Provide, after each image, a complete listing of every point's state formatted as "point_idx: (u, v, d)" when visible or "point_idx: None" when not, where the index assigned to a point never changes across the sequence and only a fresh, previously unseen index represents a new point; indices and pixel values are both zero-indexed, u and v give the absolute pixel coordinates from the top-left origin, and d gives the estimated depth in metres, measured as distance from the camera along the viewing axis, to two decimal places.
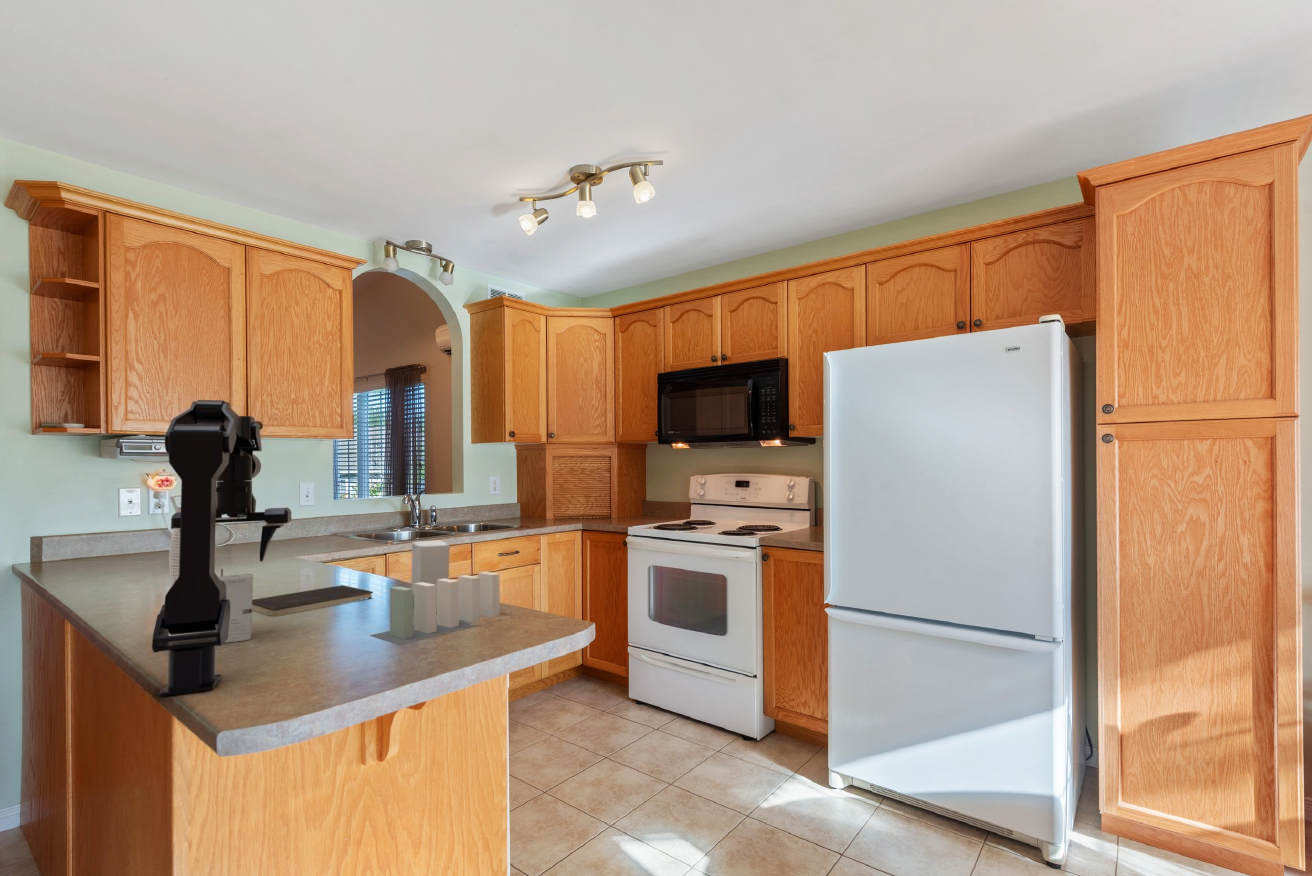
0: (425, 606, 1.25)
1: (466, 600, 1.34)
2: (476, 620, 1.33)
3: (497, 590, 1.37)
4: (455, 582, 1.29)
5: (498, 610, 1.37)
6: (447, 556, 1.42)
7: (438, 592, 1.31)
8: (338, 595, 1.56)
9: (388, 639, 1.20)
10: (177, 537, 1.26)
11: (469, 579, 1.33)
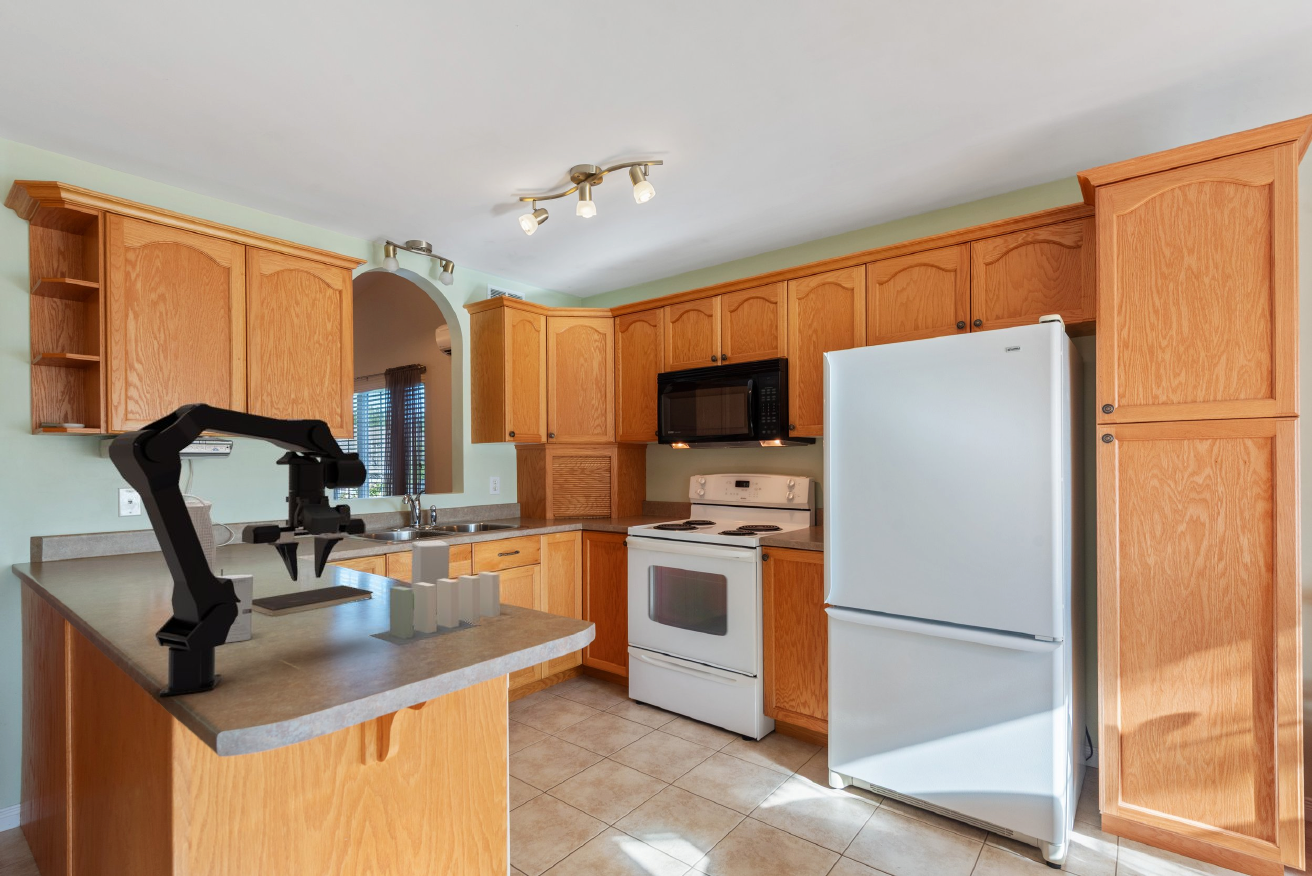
0: (425, 606, 1.25)
1: (466, 600, 1.34)
2: (476, 620, 1.33)
3: (497, 590, 1.37)
4: (455, 582, 1.29)
5: (498, 610, 1.37)
6: (447, 556, 1.42)
7: (438, 592, 1.31)
8: (338, 595, 1.56)
9: (388, 639, 1.20)
10: None
11: (469, 579, 1.33)
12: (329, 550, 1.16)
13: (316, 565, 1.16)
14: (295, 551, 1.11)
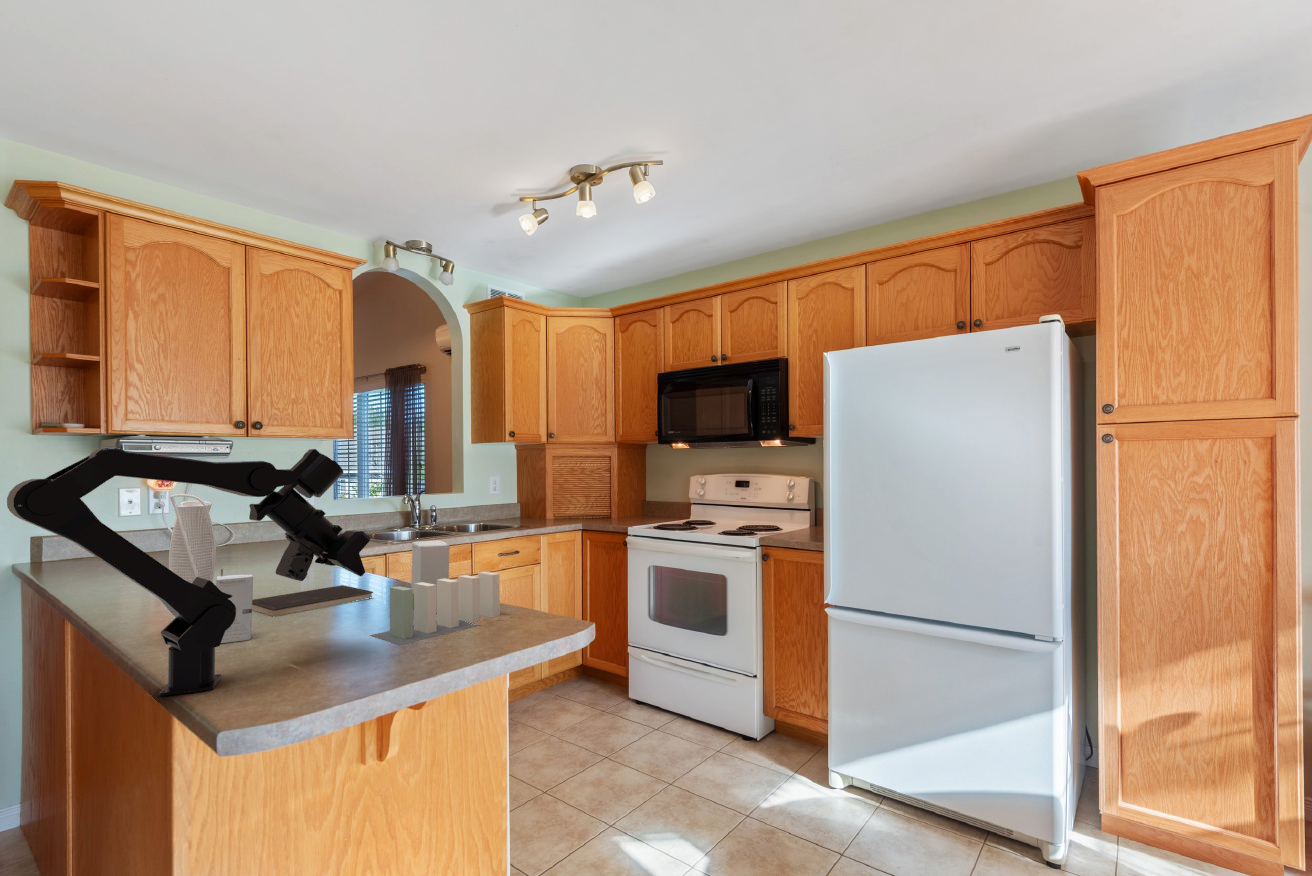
0: (425, 606, 1.25)
1: (466, 600, 1.34)
2: (476, 620, 1.33)
3: (497, 590, 1.37)
4: (455, 582, 1.29)
5: (498, 610, 1.37)
6: (447, 556, 1.42)
7: (438, 592, 1.31)
8: (338, 595, 1.56)
9: (388, 639, 1.20)
10: (177, 537, 1.26)
11: (469, 579, 1.33)
12: None
13: None
14: None
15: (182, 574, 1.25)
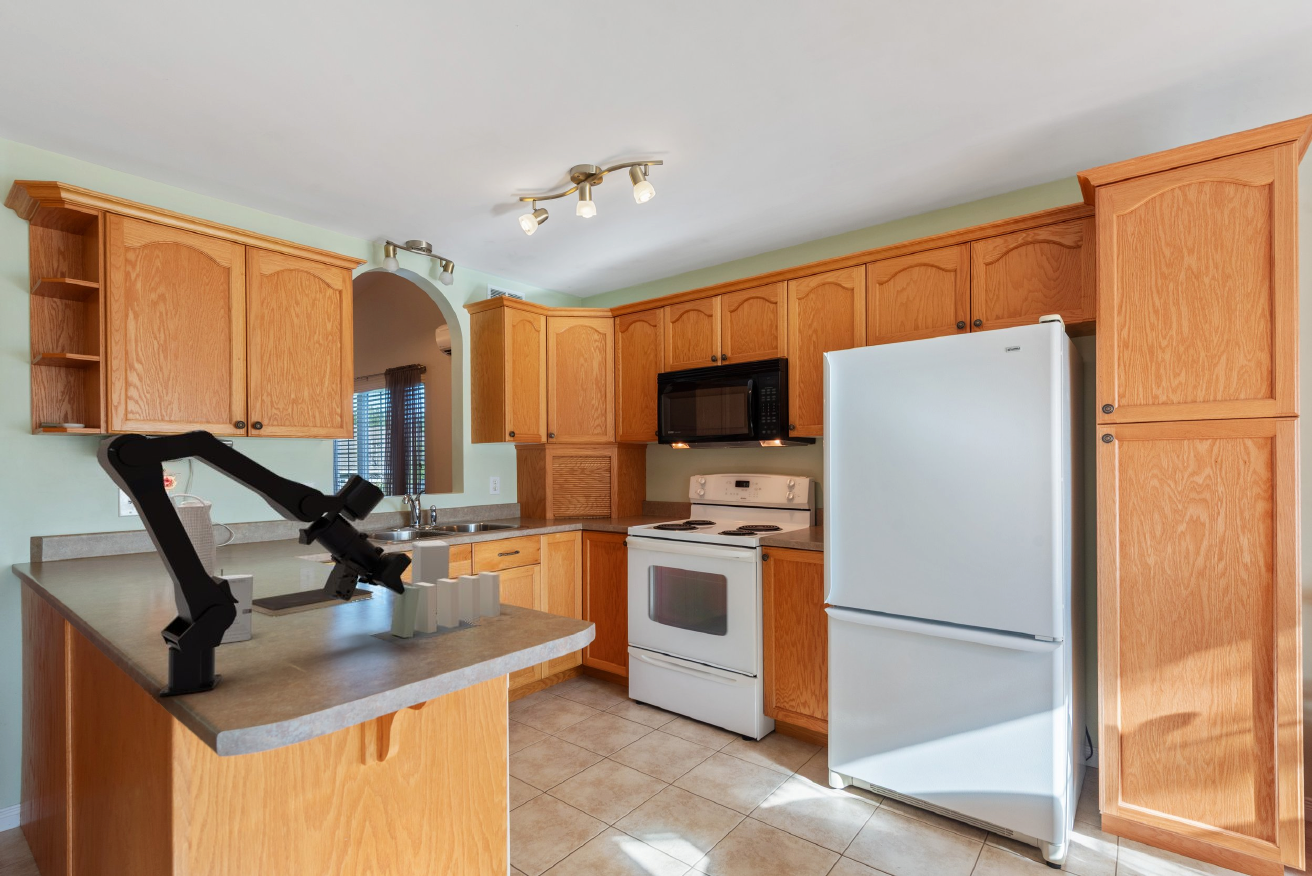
0: (425, 606, 1.25)
1: (466, 600, 1.34)
2: (476, 620, 1.33)
3: (497, 590, 1.37)
4: (455, 582, 1.29)
5: (498, 610, 1.37)
6: (447, 556, 1.42)
7: (438, 592, 1.31)
8: None
9: (388, 639, 1.20)
10: None
11: (469, 579, 1.33)
12: None
13: None
14: None
15: None
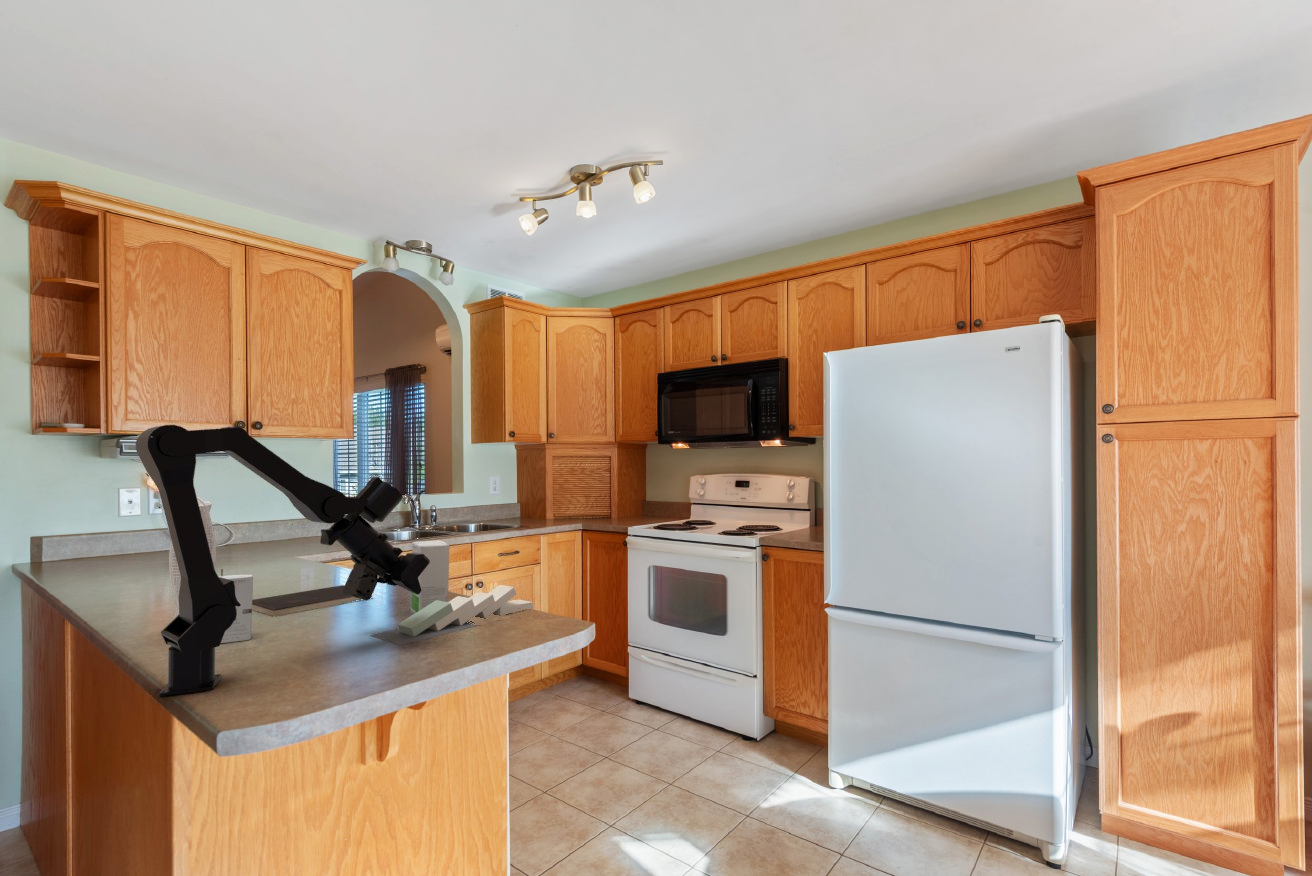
0: (453, 608, 1.30)
1: None
2: (485, 614, 1.35)
3: None
4: (493, 599, 1.36)
5: (505, 613, 1.38)
6: (447, 556, 1.42)
7: (470, 598, 1.37)
8: (338, 595, 1.56)
9: (388, 639, 1.20)
10: None
11: (510, 587, 1.41)
12: None
13: None
14: None
15: None
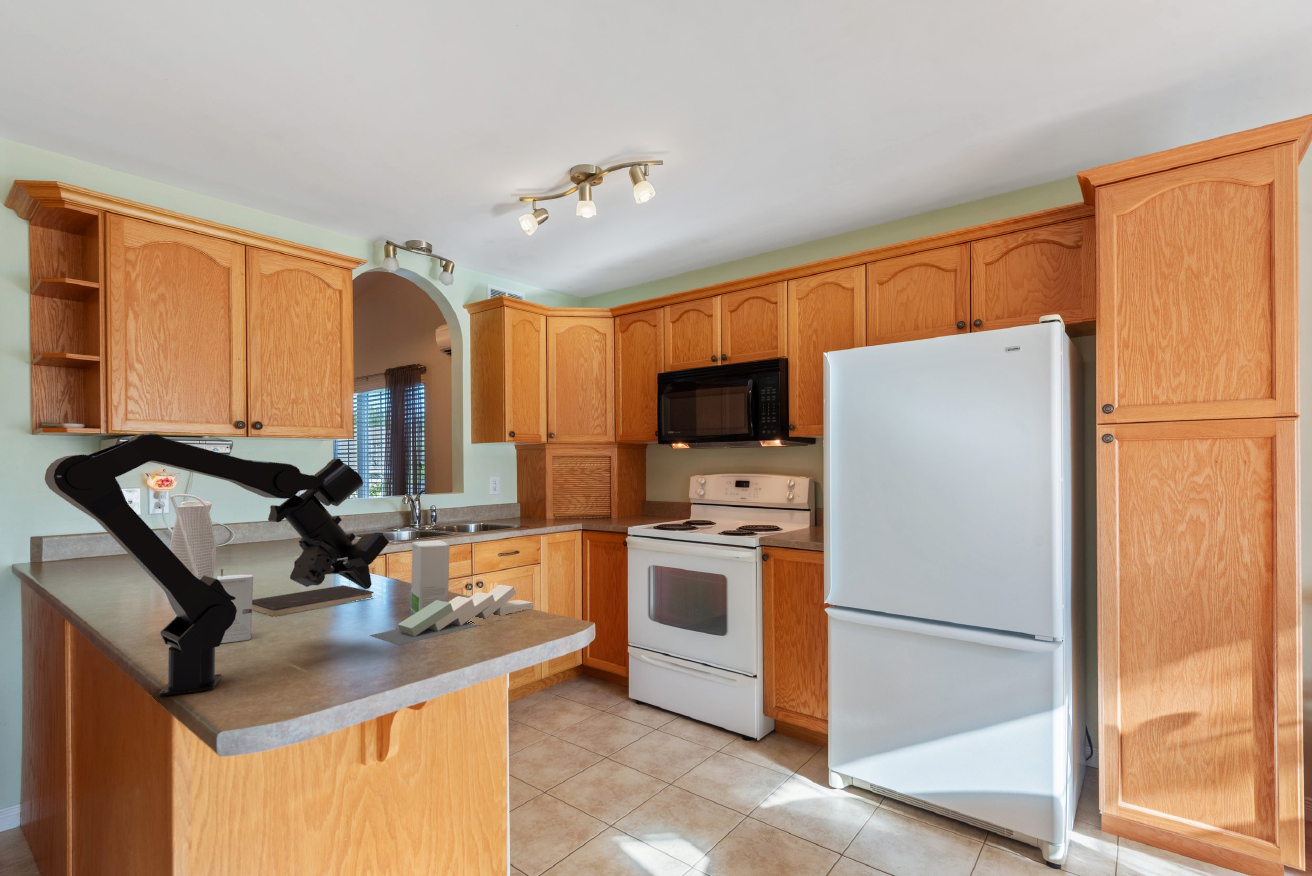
0: (453, 608, 1.30)
1: None
2: (485, 615, 1.35)
3: None
4: (493, 599, 1.36)
5: (505, 613, 1.38)
6: (447, 556, 1.42)
7: (470, 598, 1.37)
8: (339, 595, 1.56)
9: (388, 639, 1.20)
10: (177, 537, 1.26)
11: (510, 587, 1.41)
12: (353, 573, 1.15)
13: None
14: (343, 573, 1.15)
15: None
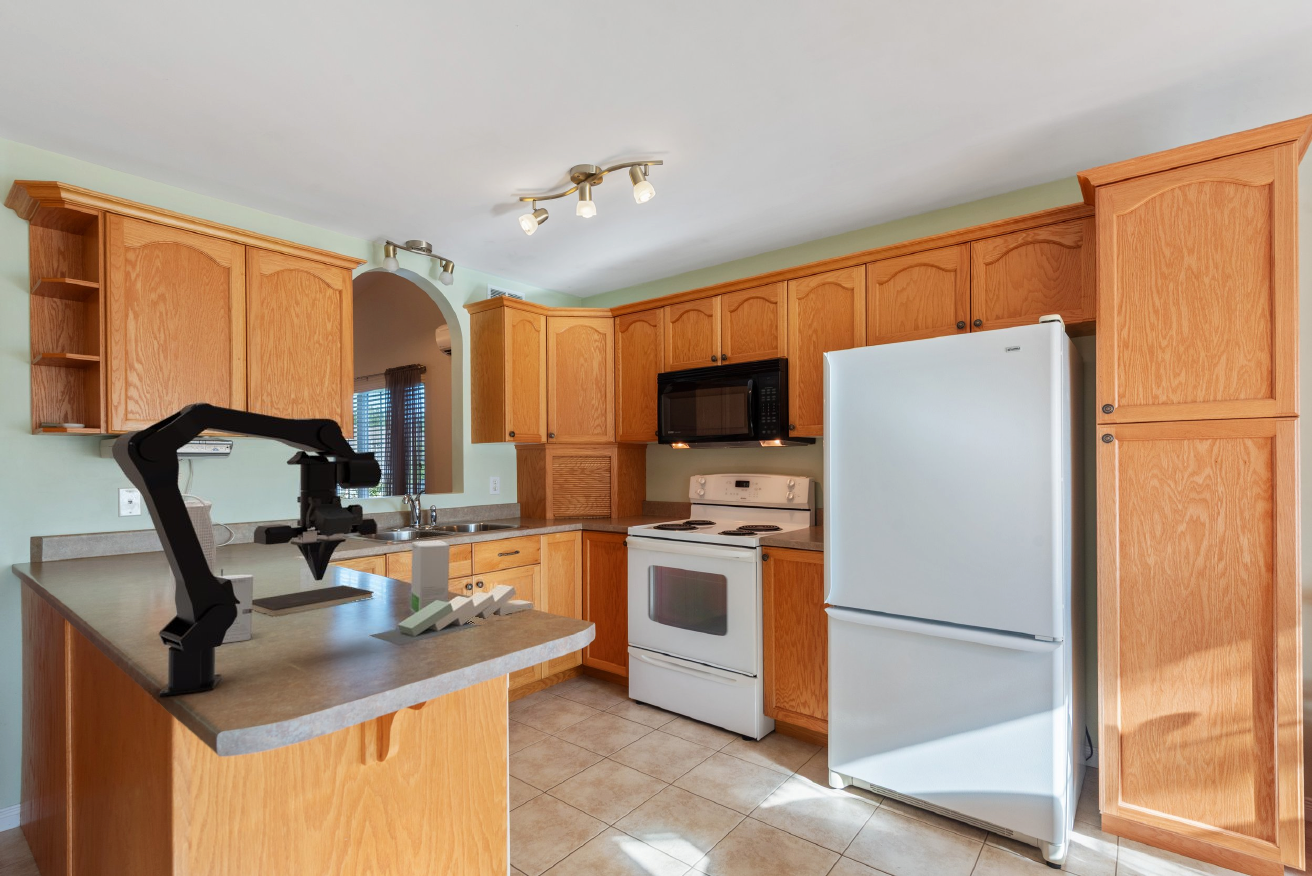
0: (453, 608, 1.30)
1: None
2: (485, 615, 1.35)
3: None
4: (493, 599, 1.36)
5: (505, 613, 1.38)
6: (447, 556, 1.42)
7: (470, 598, 1.37)
8: (339, 595, 1.56)
9: (388, 639, 1.20)
10: None
11: (509, 587, 1.41)
12: (331, 552, 1.13)
13: None
14: (318, 550, 1.11)
15: None
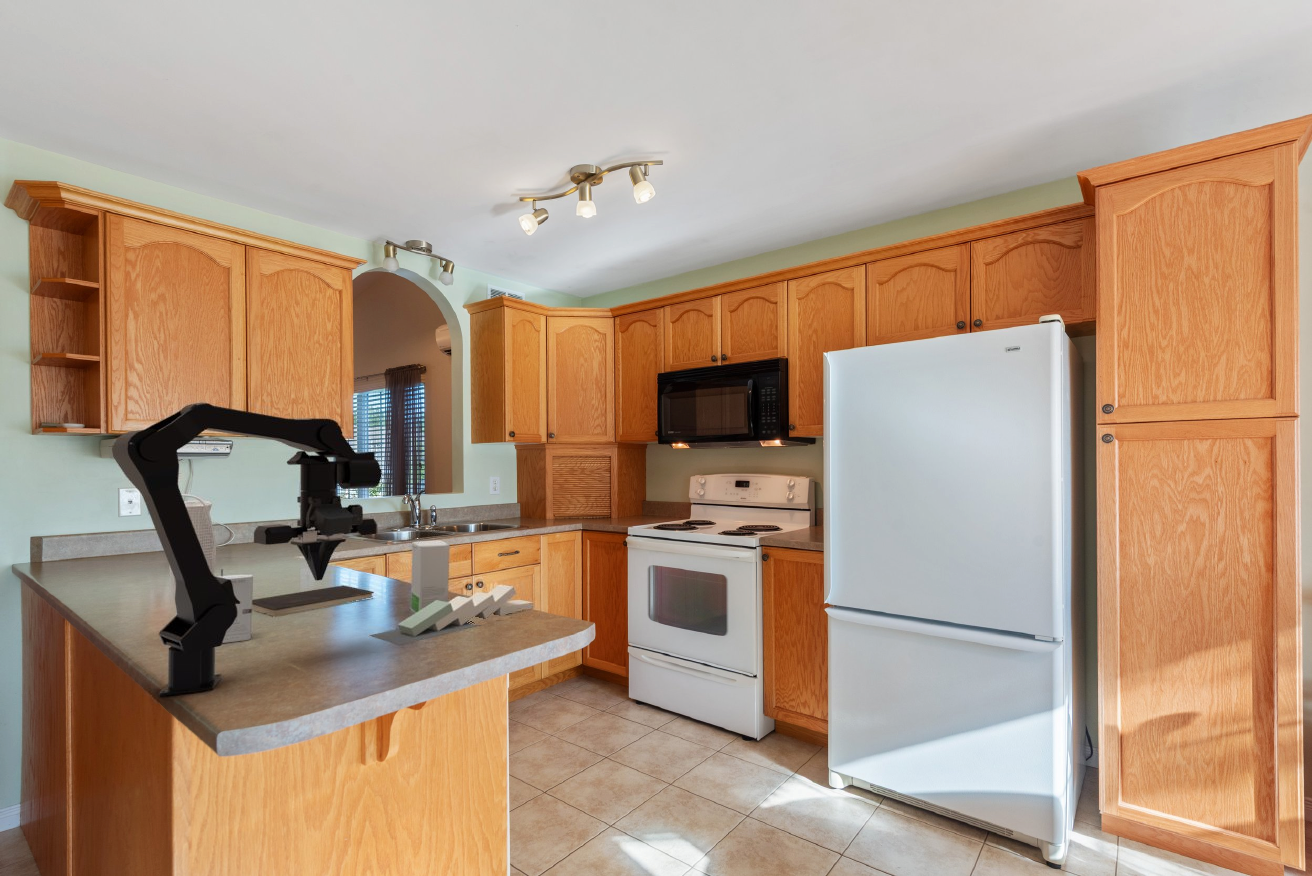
0: (453, 608, 1.30)
1: None
2: (485, 615, 1.35)
3: None
4: (493, 599, 1.36)
5: (505, 613, 1.38)
6: (447, 556, 1.42)
7: (470, 598, 1.37)
8: (339, 595, 1.56)
9: (388, 639, 1.20)
10: None
11: (509, 587, 1.41)
12: (331, 552, 1.13)
13: None
14: (318, 550, 1.11)
15: None
